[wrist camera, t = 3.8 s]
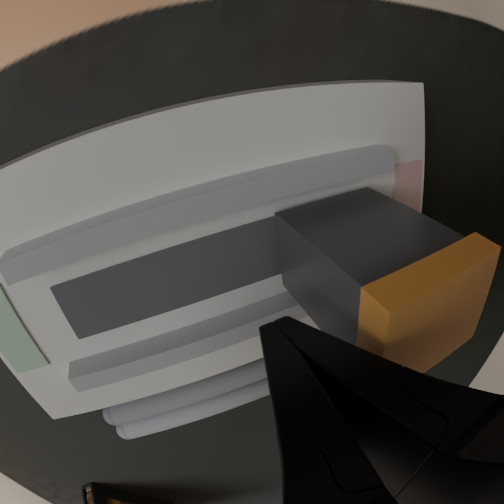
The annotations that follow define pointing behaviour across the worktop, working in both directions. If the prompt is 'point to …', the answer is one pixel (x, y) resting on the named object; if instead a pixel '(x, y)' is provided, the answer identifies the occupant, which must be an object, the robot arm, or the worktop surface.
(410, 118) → the breaker panel
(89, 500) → the ammunition clip
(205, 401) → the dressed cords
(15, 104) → the worktop surface
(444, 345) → the breaker lever
